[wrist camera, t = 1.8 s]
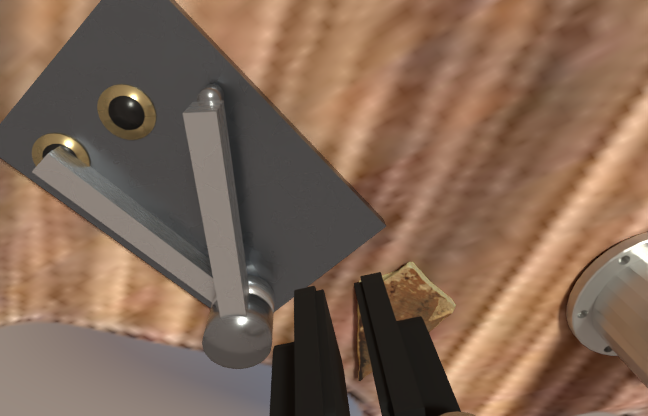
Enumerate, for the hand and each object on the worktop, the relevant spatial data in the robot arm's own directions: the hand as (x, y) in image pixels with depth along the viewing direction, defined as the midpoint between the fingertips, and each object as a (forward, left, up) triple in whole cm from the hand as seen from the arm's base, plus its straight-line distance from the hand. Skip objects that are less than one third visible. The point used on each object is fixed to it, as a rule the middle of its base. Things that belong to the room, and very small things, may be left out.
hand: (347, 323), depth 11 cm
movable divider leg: (0, +8, -16) cm, 18 cm away
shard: (-16, +5, -18) cm, 25 cm away
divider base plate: (+3, +8, -17) cm, 19 cm away
